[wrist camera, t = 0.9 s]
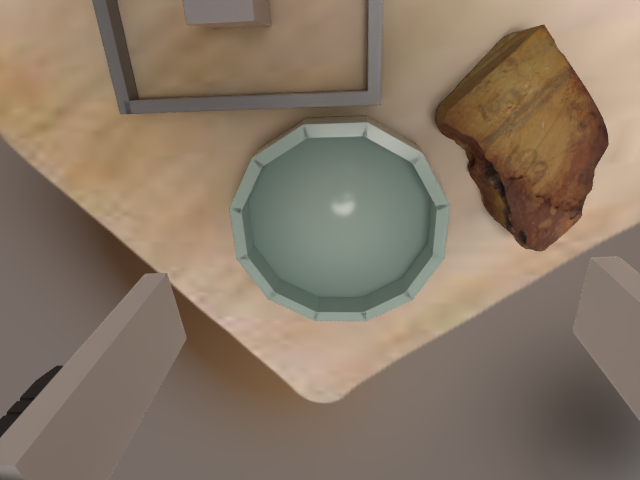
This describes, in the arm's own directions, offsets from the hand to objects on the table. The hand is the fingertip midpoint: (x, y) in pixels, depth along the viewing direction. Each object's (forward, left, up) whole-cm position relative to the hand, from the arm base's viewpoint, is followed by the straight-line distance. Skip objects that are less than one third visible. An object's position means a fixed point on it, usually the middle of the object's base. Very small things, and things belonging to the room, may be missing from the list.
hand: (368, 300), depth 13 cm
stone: (0, +13, -24) cm, 27 cm away
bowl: (+6, -2, -23) cm, 24 cm away
